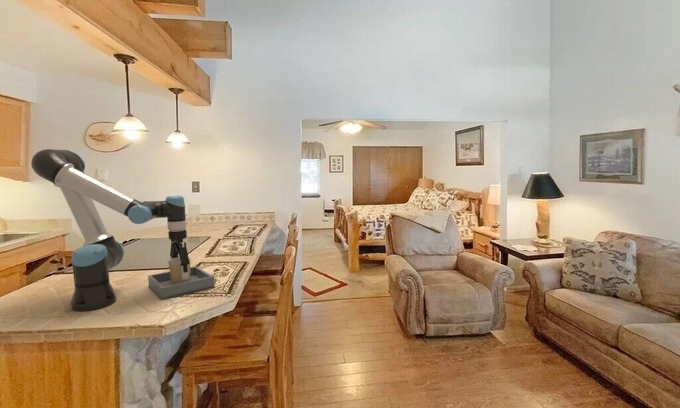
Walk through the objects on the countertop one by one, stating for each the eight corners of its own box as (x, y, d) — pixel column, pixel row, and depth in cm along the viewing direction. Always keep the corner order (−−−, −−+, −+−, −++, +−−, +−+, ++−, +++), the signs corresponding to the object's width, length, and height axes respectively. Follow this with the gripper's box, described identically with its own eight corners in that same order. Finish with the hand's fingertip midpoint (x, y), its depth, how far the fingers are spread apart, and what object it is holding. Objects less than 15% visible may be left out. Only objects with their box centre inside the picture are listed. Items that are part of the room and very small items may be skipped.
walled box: (162, 299, 150) (161, 288, 149) (148, 286, 167) (147, 275, 167) (214, 287, 164) (213, 276, 163) (196, 275, 182) (196, 266, 181)
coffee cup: (195, 281, 170) (194, 256, 168) (185, 288, 161) (183, 261, 159) (177, 281, 171) (175, 256, 169) (165, 287, 162) (163, 261, 160)
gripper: (195, 232, 156) (198, 280, 158) (177, 225, 175) (180, 268, 177) (177, 235, 151) (180, 284, 153) (160, 227, 170) (164, 271, 172)
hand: (180, 275), depth 165 cm, fingers open, 13 cm apart
